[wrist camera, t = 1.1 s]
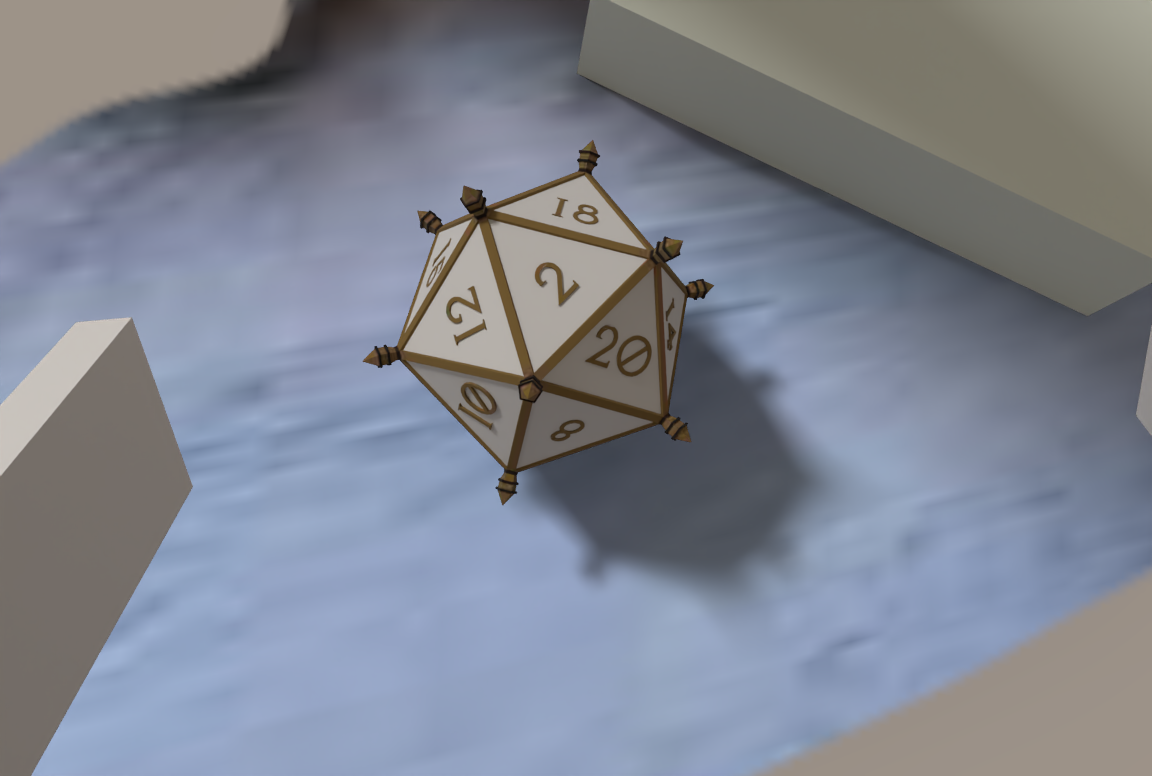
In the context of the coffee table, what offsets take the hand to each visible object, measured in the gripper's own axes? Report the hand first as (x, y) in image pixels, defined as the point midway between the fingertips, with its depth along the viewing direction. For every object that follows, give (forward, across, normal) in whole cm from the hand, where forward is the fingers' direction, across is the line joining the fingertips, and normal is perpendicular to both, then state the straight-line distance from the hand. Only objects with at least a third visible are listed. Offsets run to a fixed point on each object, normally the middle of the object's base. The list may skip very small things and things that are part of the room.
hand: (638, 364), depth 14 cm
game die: (+16, -4, -9) cm, 19 cm away
